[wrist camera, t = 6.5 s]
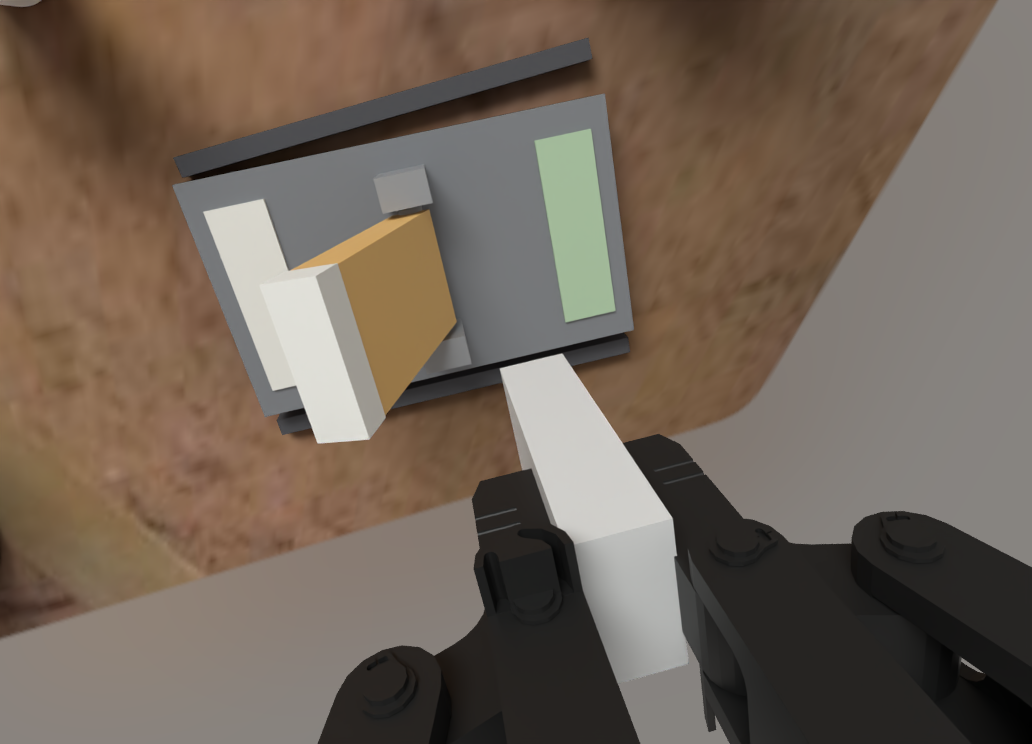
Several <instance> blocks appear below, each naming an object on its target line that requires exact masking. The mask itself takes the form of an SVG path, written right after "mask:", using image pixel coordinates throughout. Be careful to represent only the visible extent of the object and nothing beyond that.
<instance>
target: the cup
mask: <svg viewBox="0 0 1032 744" xmlns="http://www.w3.org/2000/svg"><path fill="white" fill-rule="evenodd" d="M40 1H41V0H0V5H7V6H16V7H27V6H32V5H35V4H37V3H38V2H40Z"/></svg>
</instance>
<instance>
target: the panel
mask: <svg viewBox="0 0 1032 744" xmlns="http://www.w3.org/2000/svg"><path fill="white" fill-rule="evenodd" d="M172 186H173V189H174V191H175V194H176V196H177V199H178V201H179V203H180V206H181V208H182V211H183V213H184V216H185V218H186V221H187V223H188V226H189V228H190V231H191V233H192V236H193V238H194V241H195V243H196V246H197V248H198V251H199V253H200V256H201V258H202V261H203V263H204V266H205V268H206V271H207V273H208V276H209V278H210V281H211V283H212V286H213V288H214V291H215V293H216V296H217V298H218V301H219V303H220V306H221V308H222V311H223V313H224V316H225V318H226V321H227V323H228V326H229V328H230V331H231V333H232V336H233V338H234V341H235V343H236V346H237V348H238V351H239V353H240V356H241V358H242V361H243V363H244V366H245V368H246V371H247V373H248V376H249V378H250V381H251V383H252V386H253V388H254V390H255V393H256V395H257V398H258V400H259V403H260V405H261V408H262V410H263V413H264V415H265V417H267V416H271V415H275V414H280V413H284V412H288V411H292V410H297V409H301V408H304V405H303V402H302V400H301V397H300V394H299V392H298V389H297V386H296V383H295V381H294V378H293V375H292V373H291V370H290V367H289V365H288V362H287V359H286V356H285V354H284V351H283V348H282V346H281V343H280V340H279V337H278V335H277V332H276V329H275V327H274V324H273V321H272V319H271V316H270V313H269V310H268V308H267V305H266V302H265V300H264V297H263V294H262V292H261V289H260V286H259V285H260V284H262V283H264V282H266V281H267V280H269V279H271V278H273V277H275V276H277V275H279V274H281V273H282V272H285V271H290V270H292V269H294V268H296V267H298V266H299V265H301V264H303V263H305V262H307V261H309V260H311V259H312V258H314V257H316V256H318V255H320V254H322V253H324V252H325V251H327V250H329V249H331V248H333V247H335V246H337V245H338V244H340V243H342V242H344V241H346V240H348V239H350V238H352V237H353V236H355V235H357V234H359V233H361V232H363V231H365V230H366V229H368V228H370V227H372V226H374V225H376V224H378V223H379V222H381V221H383V220H385V219H387V218H389V217H391V216H393V215H398V210H403V209H407V208H412V207H417V206H422V210H427V209H429V210H430V214H431V218H432V222H433V227H434V231H435V235H436V239H437V243H438V247H439V251H440V255H441V259H442V263H443V268H444V272H445V276H446V280H447V284H448V288H449V292H450V296H451V300H452V304H453V308H454V313H455V317H456V321H457V322H456V324H455V325H454V326H453V328H452V329H451V330H450V332H449V333H448V334H447V335H446V337H445V338H444V339H443V341H442V342H441V343H440V345H439V346H438V347H437V349H436V350H435V351H434V352H433V354H432V355H431V356H430V358H429V359H428V360H427V362H426V363H425V364H424V366H423V367H422V368H421V369H420V371H419V372H418V373H417V375H416V376H415V377H414V379H413V380H412V381H411V382H415V381H419V380H424V379H428V378H432V377H436V376H440V375H445V374H449V373H453V372H457V371H462V370H466V369H470V368H474V367H479V366H483V365H487V364H491V363H496V362H500V361H504V360H508V359H512V358H517V357H521V356H525V355H529V354H534V353H538V352H542V351H546V350H551V349H555V348H559V347H563V346H568V345H572V344H576V343H580V342H584V341H589V340H593V339H597V338H601V337H606V336H610V335H614V334H618V333H623V332H627V331H631V330H634V326H633V318H632V310H631V302H630V294H629V286H628V278H627V270H626V262H625V253H624V245H623V237H622V229H621V221H620V213H619V205H618V197H617V189H616V181H615V173H614V165H613V157H612V149H611V141H610V132H609V124H608V116H607V108H606V100H605V94H600V95H595V96H590V97H585V98H581V99H576V100H571V101H567V102H562V103H557V104H552V105H548V106H543V107H538V108H533V109H529V110H524V111H519V112H514V113H510V114H505V115H500V116H496V117H491V118H486V119H481V120H477V121H472V122H467V123H462V124H458V125H453V126H448V127H443V128H439V129H434V130H429V131H425V132H420V133H415V134H410V135H406V136H401V137H396V138H391V139H387V140H382V141H377V142H373V143H368V144H363V145H358V146H354V147H349V148H344V149H339V150H335V151H330V152H325V153H320V154H316V155H311V156H306V157H302V158H297V159H292V160H287V161H283V162H278V163H273V164H268V165H264V166H259V167H254V168H249V169H245V170H240V171H235V172H231V173H226V174H221V175H216V176H212V177H207V178H202V179H197V180H193V181H188V182H184V183H179V184H175V185H172Z"/></svg>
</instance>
